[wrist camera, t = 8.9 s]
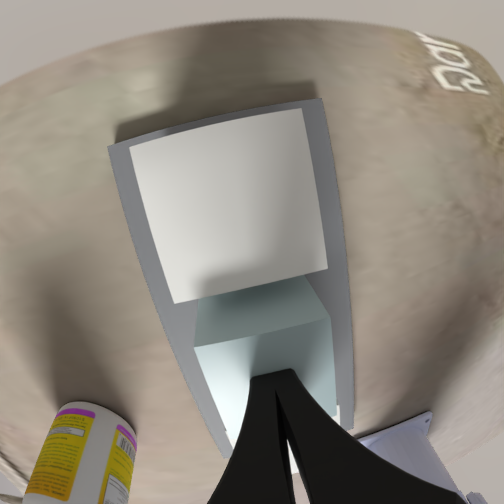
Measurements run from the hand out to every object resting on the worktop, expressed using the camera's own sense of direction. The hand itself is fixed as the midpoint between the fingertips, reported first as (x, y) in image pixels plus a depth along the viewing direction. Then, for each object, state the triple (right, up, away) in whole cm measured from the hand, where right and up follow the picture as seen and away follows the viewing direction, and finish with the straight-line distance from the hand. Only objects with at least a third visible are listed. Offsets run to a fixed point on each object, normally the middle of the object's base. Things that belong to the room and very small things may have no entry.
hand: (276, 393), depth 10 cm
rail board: (0, +1, +8) cm, 8 cm away
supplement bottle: (-13, -9, +10) cm, 19 cm away
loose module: (-1, +2, +6) cm, 6 cm away
